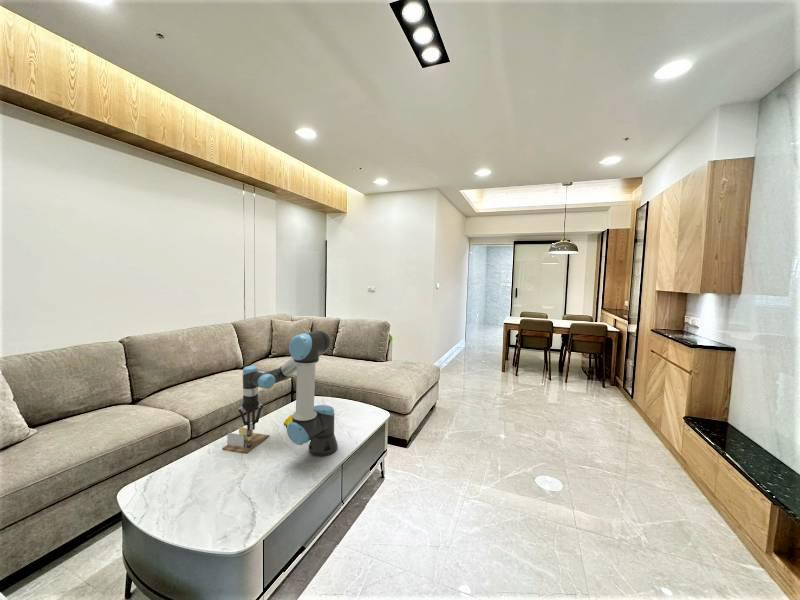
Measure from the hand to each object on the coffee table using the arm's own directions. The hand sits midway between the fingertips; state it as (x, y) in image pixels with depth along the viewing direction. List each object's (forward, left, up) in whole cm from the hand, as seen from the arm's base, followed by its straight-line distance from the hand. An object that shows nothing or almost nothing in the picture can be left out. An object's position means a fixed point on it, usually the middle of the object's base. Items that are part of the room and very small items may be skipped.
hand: (251, 435), depth 182 cm
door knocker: (-13, -28, -4) cm, 31 cm away
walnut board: (+1, +2, -3) cm, 4 cm away
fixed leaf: (+1, +8, -2) cm, 8 cm away
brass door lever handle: (0, +5, -2) cm, 5 cm away
